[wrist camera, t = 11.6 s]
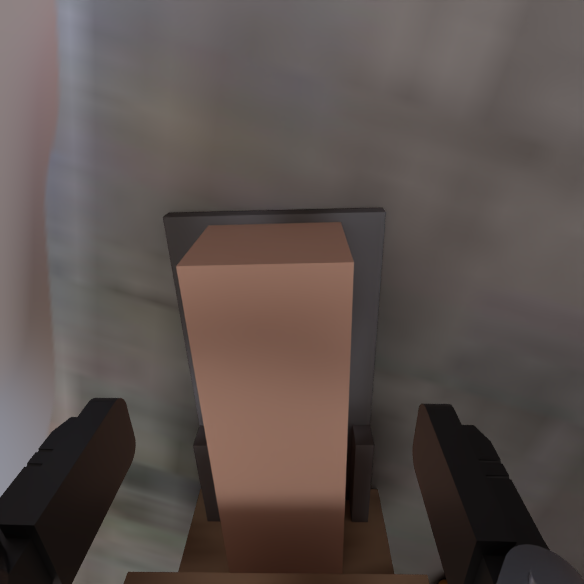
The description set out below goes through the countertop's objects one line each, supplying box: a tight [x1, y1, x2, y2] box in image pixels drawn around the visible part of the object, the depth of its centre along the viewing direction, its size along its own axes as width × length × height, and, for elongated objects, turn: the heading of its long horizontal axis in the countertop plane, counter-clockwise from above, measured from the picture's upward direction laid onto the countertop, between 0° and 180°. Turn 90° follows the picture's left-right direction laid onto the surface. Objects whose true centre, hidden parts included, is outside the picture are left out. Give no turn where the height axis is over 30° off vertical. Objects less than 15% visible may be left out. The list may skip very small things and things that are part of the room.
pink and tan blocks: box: [124, 208, 429, 584], centre depth 18 cm, size 12×21×10 cm, turn 2°
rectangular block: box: [176, 222, 354, 574], centre depth 19 cm, size 6×18×5 cm, turn 2°
